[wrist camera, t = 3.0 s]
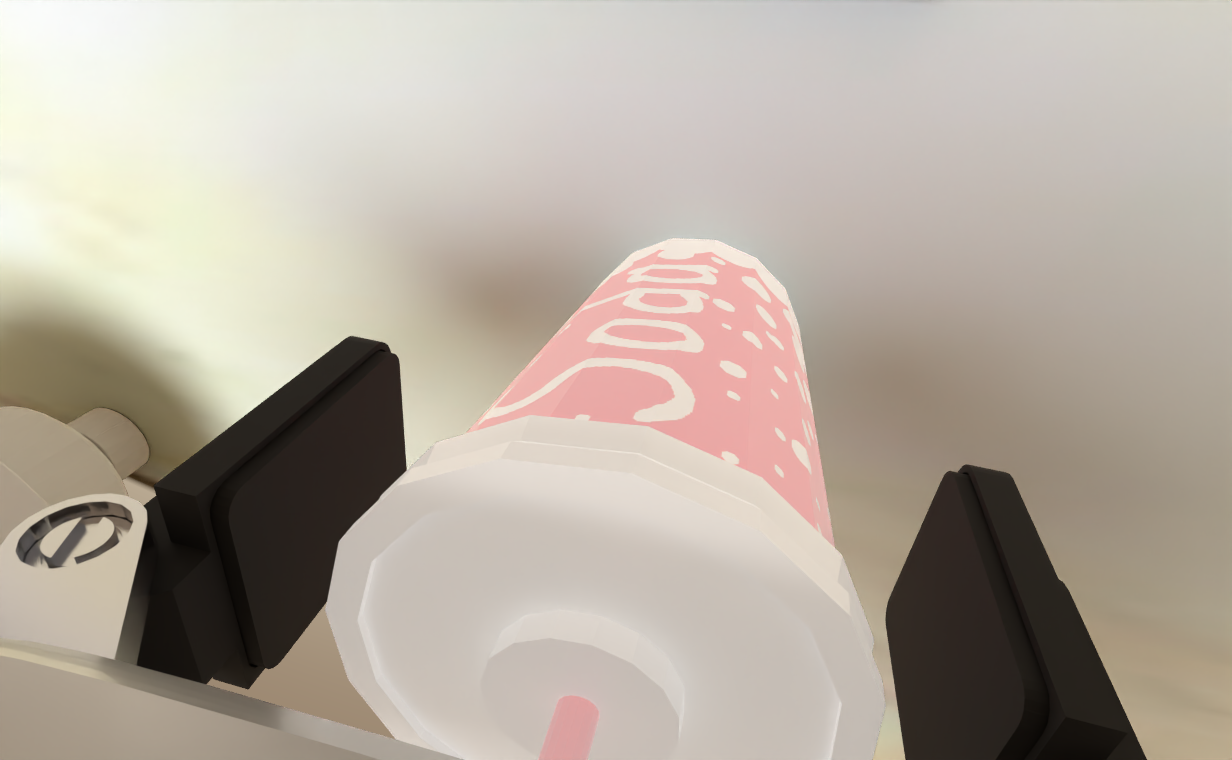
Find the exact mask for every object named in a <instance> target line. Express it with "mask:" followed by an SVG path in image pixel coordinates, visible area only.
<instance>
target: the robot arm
mask: <svg viewBox="0 0 1232 760" xmlns="http://www.w3.org/2000/svg"><path fill="white" fill-rule="evenodd" d="M406 471H407V469H406V454H405V439H404V424H403V409H402V394H401V379H400V364H399V359H398V357H397V355H395V354H393V353H391V351H390V348H389V346H388V345H387V344H386V343H383V342H379V341H374V340H369V339H364V338H359V337H355V336H350V337H348V338H346V339H344V340H343V341H342V342H340V343H339V344H338V345H336V346H335V347H334V348H333V349H331V350H330V351H329V352H327V353H326V354H325V355H323V356H322V357H321V358H320V359H318V360H317V361H316V362H314V363H313V364H312V365H310V366H309V367H308V368H306V369H305V370H304V371H303V372H301V373H300V374H299V375H297V376H296V377H295V378H293V379H292V380H291V381H290V382H288V383H287V384H286V385H284V386H283V387H282V388H280V389H279V390H278V391H276V392H275V393H274V394H273V395H271V396H270V397H269V398H267V399H266V400H265V401H263V402H262V403H261V404H260V405H258V406H257V407H256V408H254V409H253V410H252V411H250V412H249V413H248V414H246V415H245V416H244V417H243V418H241V419H240V420H239V421H237V422H236V423H235V424H233V425H232V426H231V427H230V428H228V429H227V430H226V431H224V432H223V433H222V434H220V435H219V436H218V437H216V438H215V439H214V440H213V441H211V442H210V443H209V444H207V445H206V446H205V447H203V448H202V449H201V450H200V451H198V452H197V453H196V454H194V455H193V456H192V457H190V458H189V459H188V460H186V461H185V462H184V463H183V464H181V465H180V466H179V467H177V468H176V469H175V470H173V471H172V472H171V473H169V474H168V475H167V476H166V477H164V478H163V479H162V480H160V481H159V482H158V483H156V484H155V485H154V489H155V492H156V496H155V497H154V498H153V499H151V500H150V501H149V502H148V503H146V504H145V505H144V506H143V505H142V504H141V502H140V501H137V500H135V499H133V498H131V497H129V496H125V495H118V494H111V493H109V494H92V495H86V496H82V497H77V498H72V499H68V500H65V501H63V502H60V503H57V504H55V505H52V506H49V507H47V508H45V509H43V510H41V511H39V512H37V513H36V514H34V515H32V516H30V517H28V518H27V519H25V520H24V521H23V522H22V523H20V524H19V525H18V526H17V527H16V528H14V529H13V530H12V531H11V532H10V533H9V535H8V536H7V537H6V539H5V540H4V541H3V543H2V544H1V546H0V760H464V759H460V758H457V757H453V756H450V755H447V754H443V753H440V752H436V751H433V750H430V749H426V748H423V747H420V746H416V745H413V744H409V743H406V742H403V741H399V740H396V739H392V738H388V737H386V736H382V735H379V734H375V733H372V732H368V731H365V730H361V729H358V728H354V727H351V726H348V725H344V724H341V723H337V722H334V721H330V720H327V719H323V718H320V717H316V716H313V715H310V714H306V713H303V712H299V711H296V710H292V709H289V708H285V707H282V706H278V705H275V704H271V703H268V702H265V701H261V700H258V699H254V698H251V697H247V696H243V695H241V694H237V693H234V692H230V691H227V690H223V689H220V688H216V687H213V686H210V685H206V684H207V683H208V682H209V681H210V679H211V678H212V677H213V679H215V680H218V681H221V682H225V683H228V684H232V685H235V686H239V687H242V688H245V689H249V688H250V687H251V685H252V684H253V683H254V682H255V680H256V679H257V678H258V677H259V675H260V674H261V673H262V671H263V670H264V669H265V668H267V669H271V668H274V667H275V666H276V665H278V664H279V663H280V662H281V660H282V659H283V658H284V657H285V655H286V654H287V653H288V652H289V650H290V649H291V648H292V646H293V645H294V644H295V642H296V641H297V640H298V639H299V637H300V636H301V635H302V633H303V632H304V631H305V629H306V628H307V627H308V626H309V624H310V623H311V621H312V620H313V619H314V618H315V616H316V615H317V614H318V612H319V611H320V610H321V609H322V607H323V606H324V605H325V603H326V602H327V599H328V594H329V589H330V584H331V579H332V574H333V569H334V563H335V558H336V553H337V548H338V543H339V541H340V540H341V538H342V537H343V536H344V535H345V534H346V532H347V531H348V530H349V529H350V528H351V526H352V525H353V524H354V523H355V522H356V521H357V520H358V519H359V518H360V517H361V516H362V515H363V514H364V513H365V512H366V511H368V510H369V509H370V508H371V507H372V506H373V505H374V504H375V503H376V502H377V501H378V500H379V498H380V496H381V495H382V494H383V493H384V492H385V491H386V490H387V489H388V488H389V487H390V486H391V485H392V484H393V483H394V482H395V481H396V480H397V479H398V478H399V477H401V476H402V475H403V474H404V473H405V472H406ZM886 629H887V636H888V643H889V650H890V657H891V664H892V670H893V677H894V684H895V691H896V698H897V705H898V711H899V718H900V725H901V732H902V739H903V746H904V752H905V759H906V760H1147V759H1146V757H1145V755H1144V752H1143V750H1142V748H1141V746H1140V744H1139V742H1138V739H1137V737H1136V735H1135V733H1134V731H1133V729H1132V726H1131V724H1130V722H1129V720H1128V718H1127V716H1126V713H1125V711H1124V709H1123V707H1122V705H1121V703H1120V700H1119V698H1118V696H1117V694H1116V692H1115V690H1114V687H1113V685H1112V683H1111V681H1110V679H1109V677H1108V674H1107V672H1106V670H1105V668H1104V666H1103V664H1102V661H1101V659H1100V657H1099V655H1098V653H1097V651H1096V648H1095V646H1094V644H1093V642H1092V640H1091V638H1090V635H1089V633H1088V631H1087V629H1086V627H1085V625H1084V622H1083V620H1082V618H1081V616H1080V614H1079V612H1078V609H1077V607H1076V605H1075V603H1074V601H1073V599H1072V596H1071V594H1070V592H1069V591H1068V589H1067V587H1066V586H1065V584H1064V583H1063V582H1062V581H1060V580H1059V579H1058V577H1057V575H1056V573H1055V570H1054V568H1053V566H1052V564H1051V562H1050V559H1049V557H1048V555H1047V553H1046V551H1045V548H1044V546H1043V544H1042V542H1041V540H1040V537H1039V535H1038V533H1037V531H1036V528H1035V526H1034V524H1033V522H1032V520H1031V517H1030V515H1029V513H1028V511H1027V509H1026V506H1025V504H1024V502H1023V500H1022V498H1021V495H1020V493H1019V491H1018V489H1017V487H1016V484H1015V482H1014V480H1013V478H1012V477H1011V475H1010V474H1008V473H1005V472H1000V471H996V470H991V469H986V468H981V467H977V466H972V465H964V466H962V468H961V469H960V470H959V471H958V473H957V472H952V471H949V472H947V473H946V474H945V475H944V477H943V479H942V481H941V483H940V485H939V487H938V490H937V492H936V494H935V496H934V499H933V501H932V503H931V505H930V508H929V510H928V512H927V514H926V517H925V519H924V521H923V523H922V526H921V528H920V530H919V533H918V535H917V537H916V539H915V542H914V544H913V546H912V548H911V551H910V553H909V555H908V557H907V560H906V562H905V564H904V566H903V569H902V571H901V573H900V575H899V578H898V580H897V582H896V584H895V587H894V589H893V591H892V593H891V596H890V598H889V601H888V604H887V609H886Z"/></svg>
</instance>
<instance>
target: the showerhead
mask: <svg viewBox="0 0 1232 760" xmlns="http://www.w3.org/2000/svg"><path fill="white" fill-rule="evenodd" d="M148 458H149V447H148V444H147V442H146V439H145V437H144V436H143V434H142V433H141V432H140V430H139V429H138V428H137V427H136V425H134V424H133V423H132V422H131V421H130V420H129V419H127V418H126V417H124V416H123V415H121V414H119V413H118V412H116V411H113V410H110V409H107V408H95V409H93V410H91V411H89V412H87V413H86V414H84V415H82V416H80V417H79V418H77V419H75V420H73V421H72V422H70V423H68V424H65V423H63V422H61V421H59V420H57V419H55V418H52V417H50V416H48V415H46V414H44V413H41V412H38V411H35V410H32V409H29V408H23V407H17V406H6V407H0V546H1V544H2V543H3V541H4V540H5V539H6V537H7V536H8V535H9V533H10V532H11V531H12V530H13V529H14V528H16V527H17V526H18V525H19V524H20V523H22V522H23V521H24V520H25V519H27V518H28V517H30V516H32V515H34V514H36V513H37V512H39V511H41V510H43V509H45V508H47V507H49V506H52V505H55V504H57V503H60V502H63V501H65V500H68V499H72V498H77V497H82V496H86V495H92V494H109V493H111V494H118V495H125V496H128V493H127V490H126V488H125V486H124V483H123V481H122V480H123V479H125V478H126V477H128V476H129V475H130V474H132V473H133V472H134V471H136V470H137V469H138V468H140V467H141V466H143V465H144V464H145V463H146V462H147V461H148Z"/></svg>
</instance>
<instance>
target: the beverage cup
mask: <svg viewBox="0 0 1232 760" xmlns="http://www.w3.org/2000/svg"><path fill="white" fill-rule="evenodd" d="M325 611H326V614H327V617H328V620H329V623H330V626H331V629H332V632H333V635H334V638H335V641H336V644H337V647H338V650H339V653H340V656H341V659H342V662H343V665H344V668H345V671H346V674H347V676H348V680H349V681H350V682H351V684H352V685H353V686H354V687H355V689H356V690H357V691H358V692H359V694H360V695H361V696H362V698H363V699H364V700H365V701H366V702H367V704H368V705H369V706H370V707H371V708H372V710H373V711H374V712H375V714H376V715H377V716H378V717H379V718H380V720H381V721H382V722H383V724H384V725H385V726H386V727H387V728H388V730H389V731H390V732H391V734H392V735H393V736H394V737H395V739H396V740H399V741H403V742H406V743H409V744H413V745H416V746H420V747H423V748H426V749H430V750H433V751H436V752H440V753H443V754H447V755H450V756H453V757H457V758H460V759H464V760H873V756H874V752H875V748H876V744H877V740H878V736H879V732H880V728H881V723H882V719H883V715H884V711H885V707H886V705H885V697H884V689H883V681H882V679H881V676H880V673H879V671H878V668H877V666H876V663H875V660H874V658H873V655H872V651H873V644H874V637H873V635H872V632H871V629H870V627H869V624H868V621H867V619H866V616H865V614H864V611H863V608H862V606H861V603H860V600H859V598H858V595H857V592H856V590H855V587H854V585H853V582H852V579H851V577H850V574H849V571H848V569H847V566H846V563H845V561H844V558H843V555H842V554H841V553H840V552H839V551H838V550H837V549H836V548H835V544H834V538H833V532H832V526H831V520H830V514H829V507H828V501H827V495H826V489H825V483H824V477H823V471H822V465H821V458H820V452H819V446H818V440H817V434H816V428H815V422H814V416H813V409H812V403H811V397H810V391H809V385H808V379H807V373H806V367H805V360H804V354H803V348H802V342H801V336H800V330H799V325H798V322H797V320H796V317H795V314H794V311H793V308H792V305H791V303H790V300H789V297H788V294H787V291H786V289H785V288H784V287H783V285H782V284H781V283H780V282H779V281H778V280H777V279H776V278H775V277H774V276H773V275H772V274H771V273H770V272H769V271H768V270H767V269H766V268H765V267H764V265H763V264H762V263H761V262H760V261H759V260H758V259H757V258H756V257H753V256H751V255H749V254H747V253H744V252H742V251H740V250H738V249H735V248H733V247H731V246H729V245H726V244H724V243H722V242H720V241H717V240H710V239H683V238H671V239H668V240H665V241H662V242H660V243H657V244H654V245H652V246H649V247H646V248H644V249H641V250H638V251H635V252H633V253H632V254H631V255H630V256H628V257H627V258H626V259H625V260H624V261H623V262H622V263H621V264H620V265H619V266H618V267H617V268H616V269H615V270H614V271H613V272H612V273H611V274H610V275H609V276H608V277H607V278H606V279H605V280H604V281H603V282H602V283H601V284H600V285H599V286H598V287H597V288H596V290H595V291H594V292H593V293H592V294H591V295H590V296H589V297H588V298H587V300H586V301H585V302H584V303H583V304H582V305H581V306H580V307H579V308H578V309H577V311H576V312H575V313H574V314H573V315H572V316H571V317H570V318H569V319H568V321H567V322H566V323H565V324H564V325H563V326H562V327H561V328H560V329H559V330H558V332H557V333H556V334H555V335H554V336H553V337H552V338H551V339H550V340H549V342H548V343H547V344H546V345H545V346H544V347H543V348H542V349H541V350H540V352H539V353H538V354H537V355H536V356H535V357H534V358H533V359H532V360H531V361H530V363H529V364H528V365H527V366H526V367H525V368H524V369H523V370H522V371H521V373H520V374H519V375H518V376H517V377H516V378H515V379H514V380H513V381H512V382H511V384H510V385H509V386H508V387H507V388H506V389H505V390H504V391H503V392H502V394H501V395H500V396H499V397H498V398H497V399H496V400H495V401H494V402H493V403H492V405H491V406H490V407H489V408H488V409H487V410H486V411H485V412H484V413H483V415H482V416H481V417H480V418H479V419H478V420H477V421H476V422H475V423H474V424H473V426H472V427H471V428H470V429H469V430H468V431H467V432H466V433H465V434H462V435H459V436H455V437H452V438H449V439H445V440H442V441H438V442H436V443H435V444H434V445H433V446H432V447H431V448H430V449H428V450H427V451H426V452H425V453H424V454H423V455H422V456H421V457H420V458H419V459H418V460H417V461H416V462H415V463H414V464H413V465H412V466H411V467H410V468H409V469H408V470H407V471H406V472H405V473H404V474H403V475H402V476H401V477H399V478H398V479H397V480H396V481H395V482H394V483H393V484H392V485H391V486H390V487H389V488H388V489H387V490H386V491H385V492H384V493H383V494H382V495H381V496H380V498H379V500H378V501H377V502H376V503H375V504H374V505H373V506H372V507H371V508H370V509H369V510H368V511H366V512H365V513H364V514H363V515H362V516H361V517H360V518H359V519H358V520H357V521H356V522H355V523H354V524H353V525H352V526H351V528H350V529H349V530H348V531H347V532H346V534H345V535H344V536H343V537H342V538H341V540H340V541H339V543H338V548H337V553H336V558H335V563H334V569H333V574H332V579H331V584H330V589H329V594H328V599H327V604H326V609H325Z"/></svg>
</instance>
